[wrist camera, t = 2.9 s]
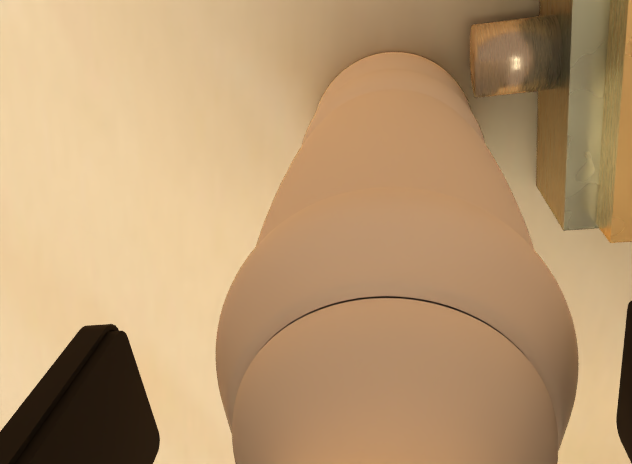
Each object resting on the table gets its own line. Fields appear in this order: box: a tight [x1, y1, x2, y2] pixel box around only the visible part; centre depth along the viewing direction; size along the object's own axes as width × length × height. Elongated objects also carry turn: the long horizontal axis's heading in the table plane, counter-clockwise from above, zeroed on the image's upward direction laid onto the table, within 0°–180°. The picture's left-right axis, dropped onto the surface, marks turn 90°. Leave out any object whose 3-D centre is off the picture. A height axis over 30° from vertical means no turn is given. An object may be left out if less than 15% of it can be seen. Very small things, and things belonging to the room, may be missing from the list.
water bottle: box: [216, 52, 578, 464], centre depth 16 cm, size 7×7×25 cm
